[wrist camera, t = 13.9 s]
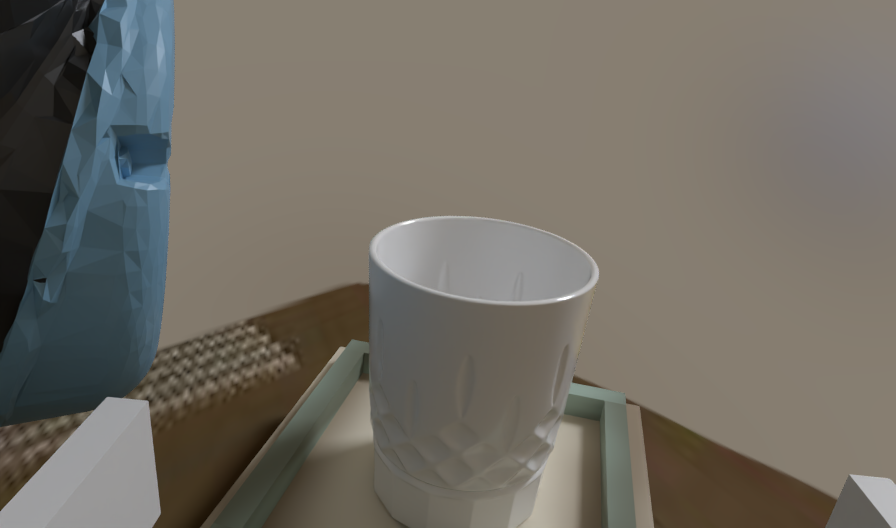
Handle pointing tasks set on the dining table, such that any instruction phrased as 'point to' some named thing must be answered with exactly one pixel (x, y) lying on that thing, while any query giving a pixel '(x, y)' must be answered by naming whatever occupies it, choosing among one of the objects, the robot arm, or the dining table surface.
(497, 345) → the white cup
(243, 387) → the dining table surface
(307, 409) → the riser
